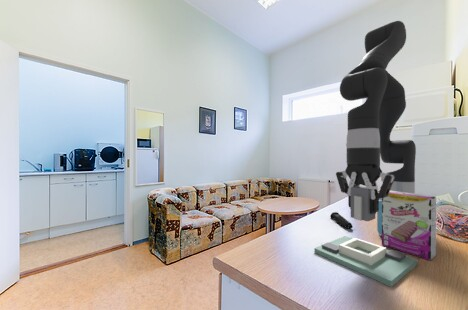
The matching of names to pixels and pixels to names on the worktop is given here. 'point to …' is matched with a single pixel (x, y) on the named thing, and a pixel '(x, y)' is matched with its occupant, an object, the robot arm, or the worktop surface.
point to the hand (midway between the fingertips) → (362, 211)
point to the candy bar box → (410, 223)
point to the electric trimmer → (341, 220)
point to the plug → (361, 204)
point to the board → (368, 259)
